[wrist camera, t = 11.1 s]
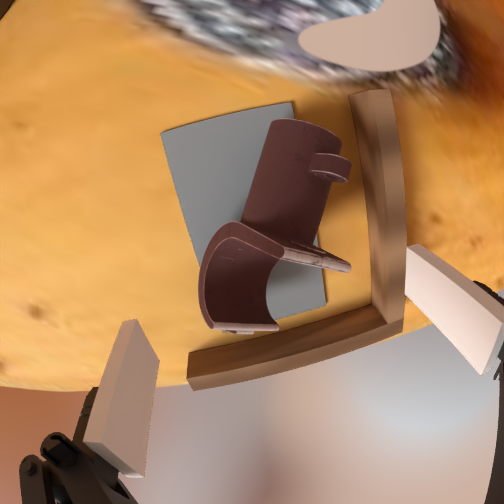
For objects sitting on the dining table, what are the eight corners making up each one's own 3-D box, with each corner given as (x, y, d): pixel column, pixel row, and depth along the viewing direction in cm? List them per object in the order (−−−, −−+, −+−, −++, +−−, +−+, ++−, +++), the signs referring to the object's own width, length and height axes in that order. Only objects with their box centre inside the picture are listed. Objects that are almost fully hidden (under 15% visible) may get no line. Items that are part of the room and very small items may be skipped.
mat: (160, 133, 22) (160, 133, 21) (290, 102, 22) (290, 102, 22) (222, 330, 29) (222, 332, 29) (325, 304, 30) (326, 305, 29)
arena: (112, 150, 22) (94, 153, 18) (367, 94, 22) (390, 89, 18) (194, 365, 31) (193, 390, 27) (386, 312, 31) (402, 331, 27)
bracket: (184, 316, 25) (239, 386, 16) (239, 124, 22) (326, 108, 14) (241, 320, 28) (308, 377, 20) (294, 150, 26) (383, 152, 18)
